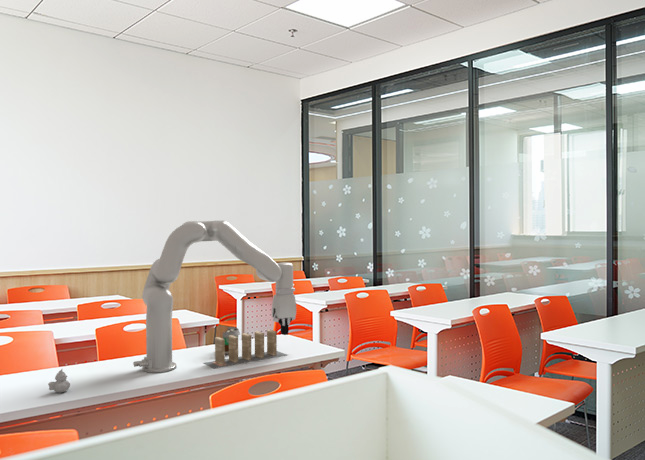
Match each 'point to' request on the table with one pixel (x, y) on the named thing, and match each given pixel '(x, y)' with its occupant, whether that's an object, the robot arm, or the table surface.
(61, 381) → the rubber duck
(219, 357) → the domino
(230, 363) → the domino mat
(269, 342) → the domino
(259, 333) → the domino
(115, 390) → the table surface
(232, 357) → the domino
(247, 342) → the domino
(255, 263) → the robot arm
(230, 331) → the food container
